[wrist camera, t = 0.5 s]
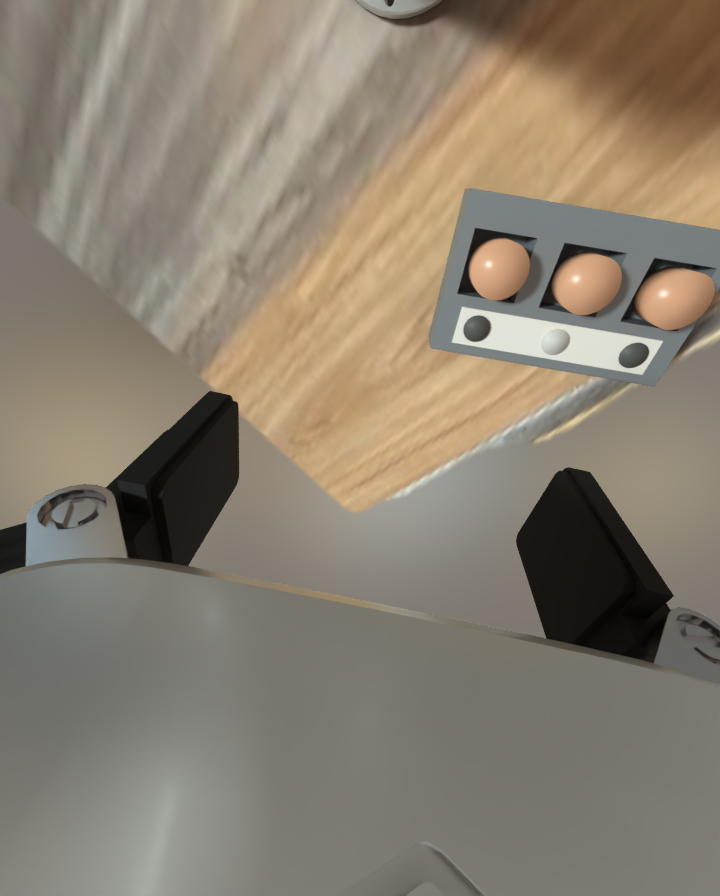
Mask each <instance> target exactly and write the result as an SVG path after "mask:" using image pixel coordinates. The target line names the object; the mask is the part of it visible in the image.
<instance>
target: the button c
mask: <svg viewBox="0 0 720 896" xmlns="http://www.w3.org/2000/svg"><path fill="white" fill-rule="evenodd" d="M714 293H715V286H714V282H713V281H712V279H711V278H710V277H709V276H708V275H706V274H704V273H700V272H696V271H692V270H689V269H685V268H681V267H676V266H670V267H665V268H662V269H659V270H657V271H655V272H653V273H652V274H650V275H649V276H648V277H647V278H645V279H644V280H643V281H642V283H641V284H640V285H639V287H638V289H637V291H636V293H635V295H634V297H633V303H632V304H633V310H634V312H635V314H636V315H637V316H638V317H640V318H641V319H643V320H645V321H647V322H649V323H651V324H653V325H655V326H657V327H659V328H661V329H665V330H674V329H679V328H682V327H685V326H687V325H689V324H691V323H693V322H694V321H696V320H697V319H698V318H699V317H700V316H702V315H703V314H704V312H705V311H706V310H707V309H708V307H709V306H710V304H711V302H712V300H713V297H714Z"/></svg>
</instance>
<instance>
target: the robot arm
mask: <svg viewBox="0 0 720 896" xmlns="http://www.w3.org/2000/svg"><path fill="white" fill-rule="evenodd" d="M356 1H357V2H358V3H359V4H360V5H361V6H362V7H363V8H365V9H367V10H369V11H371V12H372V13H374V14H376V15H378V16H382V17H387V18H391V19H401V18H410V17H413V16H416V15H419V14H422V13H424V12H426V11H428V10H429V9H431V8H432V7H434V6H436V5H437V4H439V3H440V2H441V1H442V0H394V3H393V5H392V6H388V4H387V2H388V0H356ZM238 424H239V423H238V403H237V402H235V401H233V399H232V397H231V396H230V395H226V394H222V393H217V392H212V391H210V392H208V393H207V394H206V395H205V396H204V397H203V398H202V399H201V400H199V401H198V403H196V404H195V405H194V406H193V407H192V408H191V409H190V410H189V411H188V412H187V413H186V414H185V415H184V416H183V417H182V418H181V419H180V420H179V421H178V422H177V423H176V424H175V425H173V427H171V428H170V429H169V430H167V431H166V432H164V433H163V434H162V435H161V436H160V437H159V438H158V439H157V440H156V441H154V442H153V443H152V444H151V445H150V446H149V447H148V448H147V449H146V450H145V451H144V452H143V453H142V454H141V455H140V456H139V457H138V458H137V459H136V460H135V461H133V462H132V463H131V464H130V465H129V466H128V467H127V468H126V469H125V470H124V471H123V472H122V473H121V474H120V475H119V476H118V477H117V478H116V479H115V480H114V481H113V482H111V483H110V484H109V485H108V486H107V487H106V488H105V487H101V486H98V485H86V484H84V485H76V486H70V487H66V488H63V489H59V490H57V491H55V492H52V493H50V494H48V495H46V496H45V497H43V498H42V499H40V500H39V501H38V502H36V503H35V505H34V506H33V507H32V508H31V509H30V511H29V514H28V517H27V523H23V524H20V525H17V526H13V527H9V528H5V529H2V530H0V896H720V626H719V625H718V624H717V623H715V622H714V621H712V620H711V619H709V618H708V617H706V616H704V615H702V614H700V613H698V612H696V611H693V610H690V609H687V608H680V607H678V608H675V609H672V610H670V609H669V607H668V606H667V604H666V602H667V601H669V600H670V599H671V598H672V597H673V594H672V592H671V591H670V590H669V588H668V587H667V585H666V584H665V582H664V581H663V579H662V578H661V576H660V575H659V573H658V572H657V570H656V569H655V567H654V566H653V564H652V563H651V562H650V560H649V559H648V557H647V555H646V554H645V553H644V551H643V550H642V548H641V547H640V545H639V544H638V542H637V541H636V539H635V538H634V536H633V535H632V533H631V532H630V530H629V529H628V527H627V526H626V525H625V523H624V521H623V520H622V518H621V517H620V516H619V514H618V513H617V511H616V510H615V508H614V507H613V505H612V504H611V502H610V501H609V499H608V498H607V496H606V495H605V493H604V492H603V490H602V489H601V487H600V486H599V485H598V483H597V481H596V480H595V479H594V477H593V476H592V474H591V473H590V472H587V471H583V470H578V469H573V468H565V469H564V470H563V471H558V472H557V473H556V474H555V475H554V477H553V479H552V480H551V482H550V483H549V485H548V487H547V488H546V490H545V491H544V493H543V495H542V496H541V498H540V500H539V501H538V503H537V504H536V506H535V507H534V509H533V510H532V512H531V514H530V515H529V517H528V518H527V520H526V522H525V523H524V525H523V526H522V528H521V530H520V531H519V533H518V535H517V540H516V542H517V547H518V551H519V554H520V557H521V560H522V563H523V566H524V569H525V573H526V576H527V578H528V582H529V585H530V588H531V591H532V595H533V598H534V601H535V604H536V607H537V610H538V613H539V617H540V620H541V623H542V626H543V629H544V632H545V635H546V638H547V639H545V638H541V637H536V636H531V635H526V634H522V633H517V632H512V631H508V630H503V629H498V628H493V627H488V626H484V625H479V624H475V623H469V622H464V621H460V620H455V619H450V618H446V617H441V616H436V615H431V614H426V613H421V612H417V611H412V610H407V609H402V608H397V607H393V606H387V605H383V604H378V603H373V602H368V601H363V600H358V599H353V598H348V597H344V596H339V595H334V594H329V593H324V592H318V591H314V590H309V589H304V588H299V587H294V586H289V585H284V584H279V583H274V582H269V581H264V580H259V579H254V578H249V577H244V576H239V575H233V574H228V573H222V572H217V571H211V570H206V569H200V568H195V567H190V566H188V565H189V563H190V562H191V560H192V558H193V557H194V555H195V553H196V552H197V550H198V548H199V547H200V545H201V543H202V542H203V540H204V538H205V536H206V535H207V533H208V532H209V530H210V528H211V527H212V525H213V523H214V522H215V520H216V518H217V517H218V515H219V513H220V512H221V510H222V508H223V507H224V505H225V503H226V502H227V500H228V498H229V497H230V495H231V493H232V492H233V490H234V488H235V487H236V485H237V482H238V478H239V431H238V430H239V426H238Z"/></svg>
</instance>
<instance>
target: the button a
mask: <svg viewBox="0 0 720 896" xmlns="http://www.w3.org/2000/svg"><path fill="white" fill-rule="evenodd" d="M529 269H530V260H529V256H528V253H527V252H526V250H525V249H524V247H523V246H521V245H520V244H519V243H517V242H514V241H512V240H510V239H507V238H504V237H494V238H490V239H488V240H486V241H484V242H483V243H481V244H480V245H479V246H478V247H477V248H476V249H475V250H474V252H473V253H472V255H471V257H470V260H469V263H468V277H469V280H470V282H471V284H472V285H473V286H474V288H475V289H476V291H477V292H478V293H479V294H480V295H481V296H482V297H484V298H486V299H489V300H502V299H506V298H508V297H510V296H512V295H513V294H515V293H516V292H517V291H518V290H519V289H520V288H521V287H522V286H523V284H524V283H525V281H526V279H527V277H528V274H529Z"/></svg>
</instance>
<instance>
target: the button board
mask: <svg viewBox="0 0 720 896" xmlns="http://www.w3.org/2000/svg"><path fill="white" fill-rule="evenodd" d="M494 237H504V238H507V239H510V240H512V241H514V242H517V243H519V244H520V245H521V246H523V247H524V249H525V250H526V252H527V253H528V256H529V260H530V269H529V274H528V277H527V279H526V281H525V283H524V284H523V286H522V287H521V288H520V289H519V290H518V291H517V292H516V293H515V294H513V295H512V296H510V297H508V298H506V299H502V300H489V299H486V298H484V297H482V296H481V295H480V294H479V293H478V292H477V291H476V289H475V288H474V286H473V285H472V284H471V282H470V280H469V277H468V263H469V260H470V257H471V255H472V253H473V252H474V250H475V249H476V248H477V247H478V246H479V245H480V244H481V243H483V242H484V241H486V240H488V239H490V238H494ZM579 252H592V253H596V254H599V255H602V256H606V257H609V258H611V259H613V260H614V261H616V262H617V263H618V265H619V266H620V269H621V272H622V281H621V285H620V288H619V291H618V293H617V294H616V296H615V297H614V299H613V300H612V301H611V302H610V303H609V304H608V305H607V306H605V307H604V308H603V309H601V310H599V311H597V312H595V313H592V314H588V315H577V314H574V313H571V312H570V311H568V310H567V309H565V308H564V307H563V306H561V305H560V304H558V303H557V302H556V301H555V300H554V299H553V297H552V295H551V291H550V282H551V278H552V276H553V274H554V272H555V270H556V268H557V267H558V266H559V265H560V264H561V263H562V262H563V261H564V260H565V259H566V258H568V257H569V256H571V255H573V254H576V253H579ZM670 266H676V267H681V268H685V269H689V270H692V271H696V272H700V273H704V274H706V275H708V276H709V277H710V278H711V279H712V281H713V282H714V286H715V293H714V296H715V294H716V293H717V291H718V290H719V288H720V230H717V229H711V228H705V227H699V226H693V225H687V224H681V223H675V222H669V221H663V220H657V219H651V218H645V217H639V216H633V215H627V214H621V213H615V212H609V211H603V210H597V209H591V208H585V207H579V206H573V205H567V204H561V203H555V202H549V201H543V200H537V199H531V198H525V197H519V196H514V195H508V194H502V193H496V192H490V191H484V190H478V189H472V188H471V189H465V192H464V196H463V200H462V204H461V208H460V212H459V216H458V220H457V224H456V228H455V232H454V236H453V240H452V244H451V249H450V253H449V257H448V261H447V265H446V269H445V273H444V277H443V281H442V285H441V289H440V293H439V297H438V301H437V305H436V309H435V313H434V317H433V321H432V325H431V329H430V333H429V341H430V348H432V349H438V350H443V351H449V352H455V353H461V354H467V355H473V356H478V357H484V358H490V359H496V360H502V361H508V362H513V363H519V364H525V365H531V366H537V367H543V368H549V369H554V370H560V371H566V372H572V373H578V374H584V375H589V376H595V377H601V378H607V379H613V380H619V381H624V382H630V383H636V384H642V385H648V386H655V385H656V383H657V382H658V380H659V379H660V377H661V376H662V374H663V373H664V371H665V370H666V368H667V367H668V365H669V364H670V362H671V361H672V359H673V358H674V356H675V355H676V353H677V352H678V350H679V349H680V347H681V346H682V344H683V343H684V341H685V340H686V338H687V337H688V335H689V334H690V332H691V331H692V329H693V328H694V326H695V324H696V323H697V321H698V320H699V318H700V317H701V316H700V317H699V318H698V319H697V320H696V321H694V322H693V323H691V324H689V325H687V326H685V327H682V328H679V329H674V330H665V329H661V328H659V327H657V326H655V325H653V324H651V323H649V322H647V321H645V320H643V319H641V318H640V317H638V316H637V315H636V314H635V312H634V310H633V304H632V303H633V297H634V295H635V293H636V291H637V289H638V287H639V285H640V284H641V283H642V281H643V280H644V279H645V278H647V277H648V276H649V275H650V274H652V273H653V272H655V271H657V270H659V269H662V268H665V267H670Z"/></svg>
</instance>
